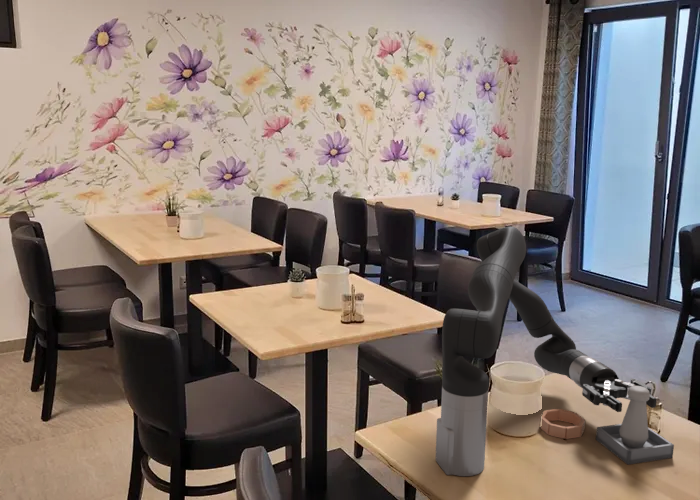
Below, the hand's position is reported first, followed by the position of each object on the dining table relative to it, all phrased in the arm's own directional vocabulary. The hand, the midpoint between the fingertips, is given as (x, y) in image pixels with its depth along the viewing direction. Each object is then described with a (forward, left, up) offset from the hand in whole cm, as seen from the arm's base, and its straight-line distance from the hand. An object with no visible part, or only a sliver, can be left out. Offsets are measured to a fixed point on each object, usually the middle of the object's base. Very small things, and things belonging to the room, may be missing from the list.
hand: (637, 405), depth 145 cm
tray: (0, 0, -10) cm, 10 cm away
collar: (-10, +12, -10) cm, 19 cm away
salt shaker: (0, 0, -9) cm, 9 cm away
